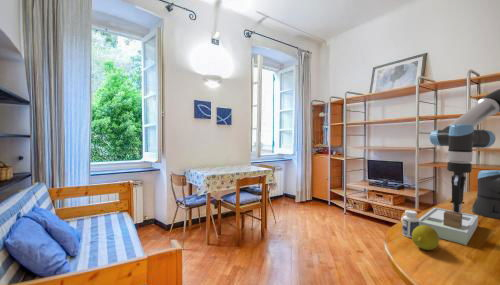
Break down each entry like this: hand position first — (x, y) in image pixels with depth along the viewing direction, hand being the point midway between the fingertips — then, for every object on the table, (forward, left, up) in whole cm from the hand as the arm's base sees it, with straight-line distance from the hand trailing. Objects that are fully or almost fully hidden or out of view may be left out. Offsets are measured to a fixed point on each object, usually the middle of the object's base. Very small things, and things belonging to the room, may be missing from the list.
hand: (456, 219), depth 100 cm
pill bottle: (+21, -2, -6) cm, 22 cm away
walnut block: (+3, +1, -2) cm, 4 cm away
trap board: (-2, -5, -6) cm, 8 cm away
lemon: (+25, +8, -6) cm, 27 cm away
